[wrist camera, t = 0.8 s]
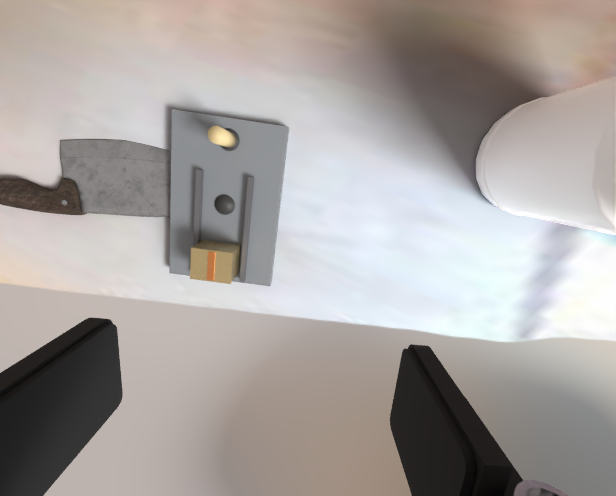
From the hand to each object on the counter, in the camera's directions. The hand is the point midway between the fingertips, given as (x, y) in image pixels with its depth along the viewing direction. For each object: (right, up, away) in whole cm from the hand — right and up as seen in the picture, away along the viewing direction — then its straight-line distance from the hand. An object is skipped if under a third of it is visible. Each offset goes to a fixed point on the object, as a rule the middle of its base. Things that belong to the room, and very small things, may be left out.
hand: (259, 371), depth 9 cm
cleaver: (-28, +13, +29) cm, 43 cm away
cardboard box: (-10, +3, +29) cm, 31 cm away
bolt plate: (-9, +10, +29) cm, 32 cm away
